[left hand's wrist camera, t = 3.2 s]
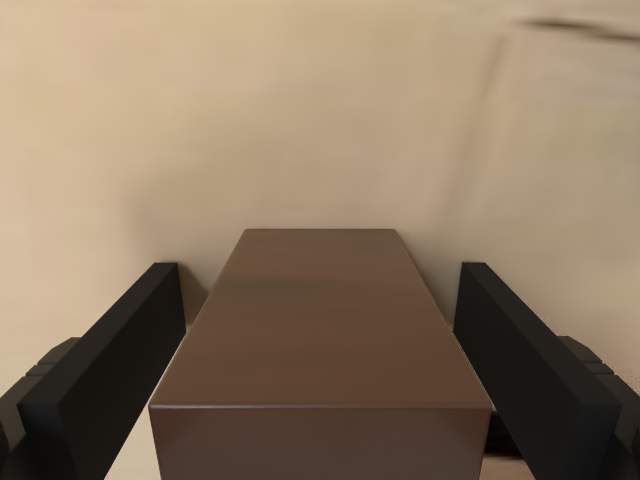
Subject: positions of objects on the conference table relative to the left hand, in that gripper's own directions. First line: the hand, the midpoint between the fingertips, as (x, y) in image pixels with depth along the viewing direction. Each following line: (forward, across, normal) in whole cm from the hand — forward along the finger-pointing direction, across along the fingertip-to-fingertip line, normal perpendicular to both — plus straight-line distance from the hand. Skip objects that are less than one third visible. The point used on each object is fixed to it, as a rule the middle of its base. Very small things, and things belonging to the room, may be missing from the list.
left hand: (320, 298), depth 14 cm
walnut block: (0, 0, 0) cm, 0 cm away
